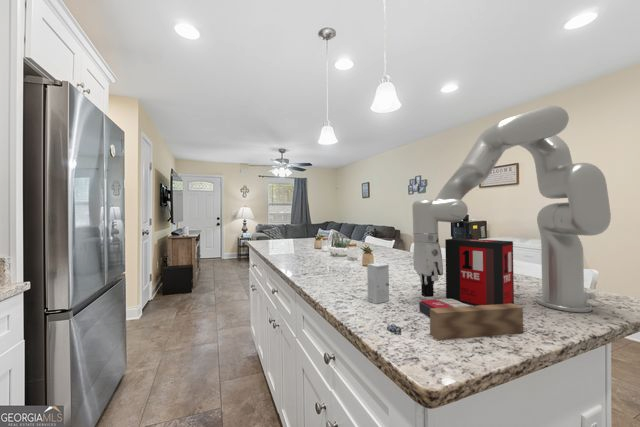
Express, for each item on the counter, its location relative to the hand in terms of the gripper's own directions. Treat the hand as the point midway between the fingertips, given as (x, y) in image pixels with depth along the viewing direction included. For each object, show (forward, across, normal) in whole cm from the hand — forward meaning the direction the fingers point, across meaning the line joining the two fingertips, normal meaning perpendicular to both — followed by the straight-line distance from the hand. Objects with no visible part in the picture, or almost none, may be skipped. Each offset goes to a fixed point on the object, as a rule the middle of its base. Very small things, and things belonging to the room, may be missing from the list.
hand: (427, 296), depth 84 cm
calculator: (+3, -13, +1) cm, 13 cm away
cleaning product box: (+3, -2, -16) cm, 17 cm away
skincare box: (+2, +5, +15) cm, 16 cm away
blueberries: (+3, -17, +18) cm, 25 cm away
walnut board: (+2, -22, +1) cm, 22 cm away
